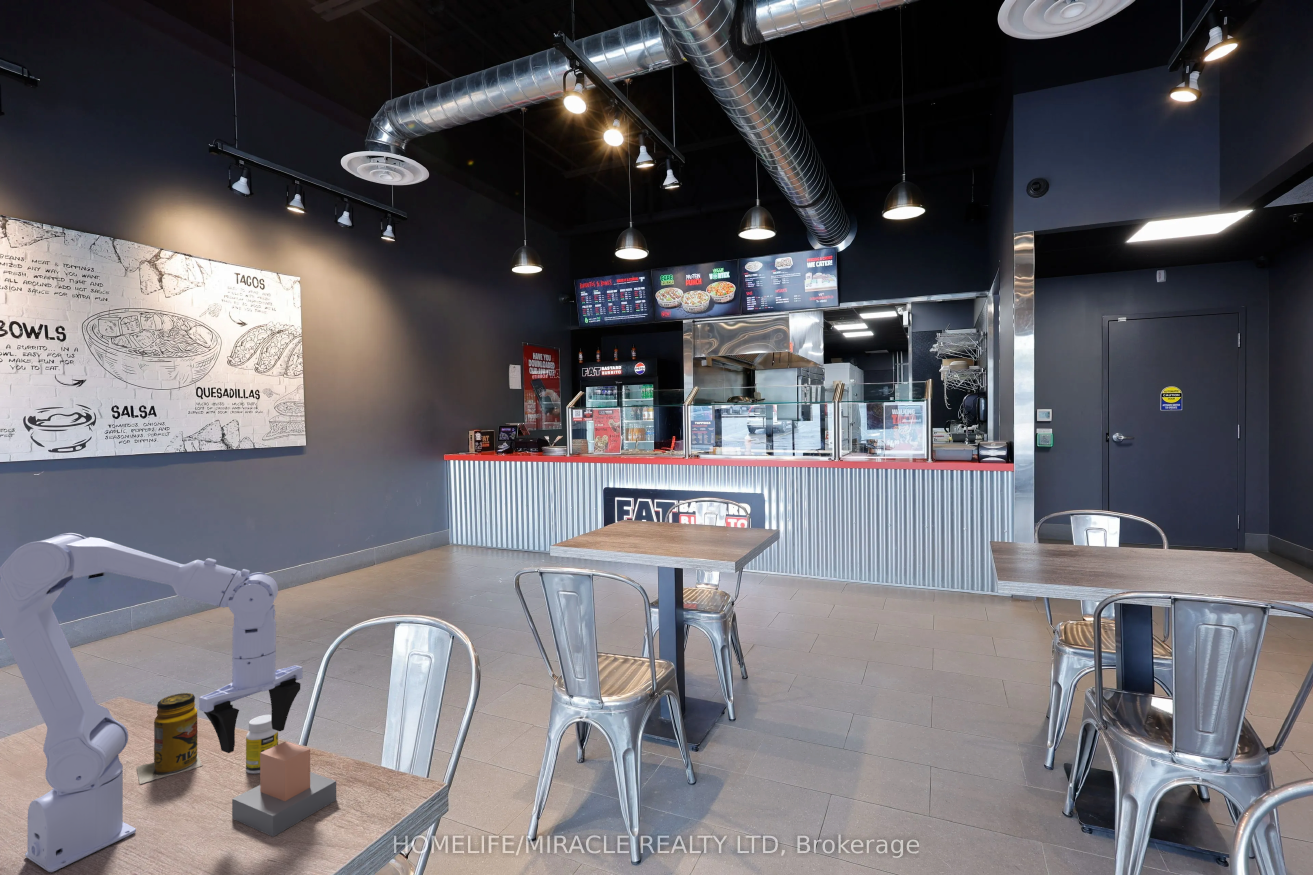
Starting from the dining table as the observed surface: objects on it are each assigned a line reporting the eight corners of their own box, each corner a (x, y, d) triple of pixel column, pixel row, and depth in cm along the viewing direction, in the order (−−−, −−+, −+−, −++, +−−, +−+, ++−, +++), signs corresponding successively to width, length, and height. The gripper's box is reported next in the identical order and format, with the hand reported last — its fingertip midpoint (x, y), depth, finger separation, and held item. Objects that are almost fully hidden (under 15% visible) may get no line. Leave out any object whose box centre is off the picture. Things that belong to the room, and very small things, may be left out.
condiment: (202, 766, 107) (202, 698, 107) (139, 785, 101) (139, 713, 101) (196, 751, 112) (196, 686, 112) (136, 768, 106) (136, 700, 106)
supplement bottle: (262, 775, 103) (262, 726, 103) (239, 773, 104) (238, 724, 104) (284, 761, 108) (284, 714, 108) (262, 758, 109) (262, 712, 109)
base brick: (273, 836, 87) (272, 815, 87) (232, 818, 92) (232, 798, 92) (336, 799, 96) (336, 780, 96) (296, 784, 100) (296, 766, 101)
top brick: (285, 801, 91) (285, 760, 91) (260, 791, 93) (260, 752, 93) (310, 787, 94) (310, 748, 94) (285, 778, 97) (285, 741, 97)
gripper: (218, 672, 87) (217, 767, 87) (314, 643, 100) (314, 725, 100) (191, 664, 90) (190, 756, 90) (287, 637, 103) (287, 717, 103)
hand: (253, 739), depth 95 cm, fingers open, 7 cm apart
